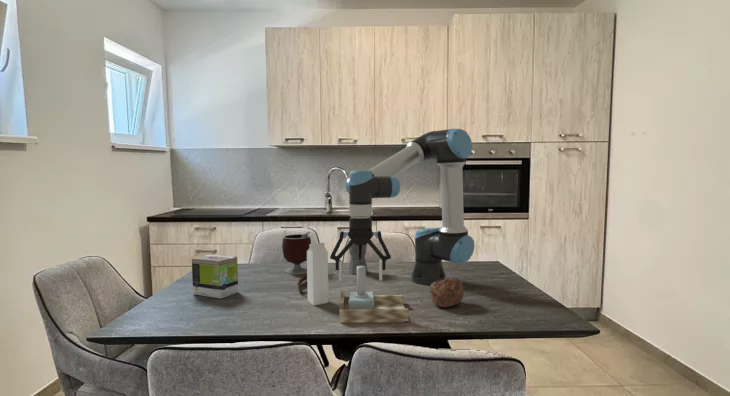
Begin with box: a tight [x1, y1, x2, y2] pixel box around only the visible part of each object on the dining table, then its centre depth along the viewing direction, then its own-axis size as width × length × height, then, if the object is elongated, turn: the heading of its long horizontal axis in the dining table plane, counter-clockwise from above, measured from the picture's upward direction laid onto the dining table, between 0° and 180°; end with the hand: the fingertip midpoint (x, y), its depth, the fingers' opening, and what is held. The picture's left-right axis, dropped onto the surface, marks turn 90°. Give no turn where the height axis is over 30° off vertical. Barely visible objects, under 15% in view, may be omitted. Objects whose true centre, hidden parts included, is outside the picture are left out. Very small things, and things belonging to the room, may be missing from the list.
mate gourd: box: [281, 231, 312, 276], centre depth 189 cm, size 16×14×20 cm
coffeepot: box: [347, 240, 368, 275], centre depth 185 cm, size 15×9×18 cm, turn 9°
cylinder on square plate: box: [348, 266, 374, 309], centre depth 132 cm, size 8×10×15 cm
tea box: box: [191, 253, 239, 299], centre depth 156 cm, size 15×10×15 cm, turn 65°
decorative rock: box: [429, 276, 465, 308], centre depth 140 cm, size 13×11×10 cm
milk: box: [306, 242, 329, 306], centre depth 144 cm, size 6×6×22 cm
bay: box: [339, 290, 410, 324], centre depth 134 cm, size 22×18×6 cm
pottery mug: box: [296, 274, 307, 293], centre depth 158 cm, size 12×10×8 cm
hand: (360, 279), depth 131 cm, fingers open, 13 cm apart
